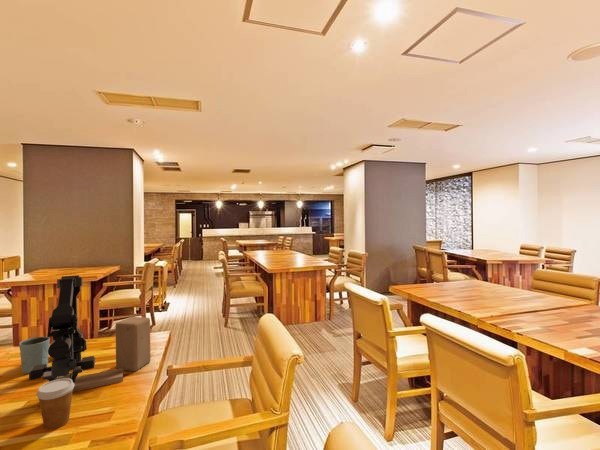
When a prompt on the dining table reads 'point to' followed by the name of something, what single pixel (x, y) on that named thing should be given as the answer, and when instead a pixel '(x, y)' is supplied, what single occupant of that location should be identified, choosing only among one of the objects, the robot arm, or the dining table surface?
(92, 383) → the walnut board
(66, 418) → the disposable coffee cup
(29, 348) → the grey embossed cup
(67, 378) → the block
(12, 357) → the dining table surface
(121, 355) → the wooden block
